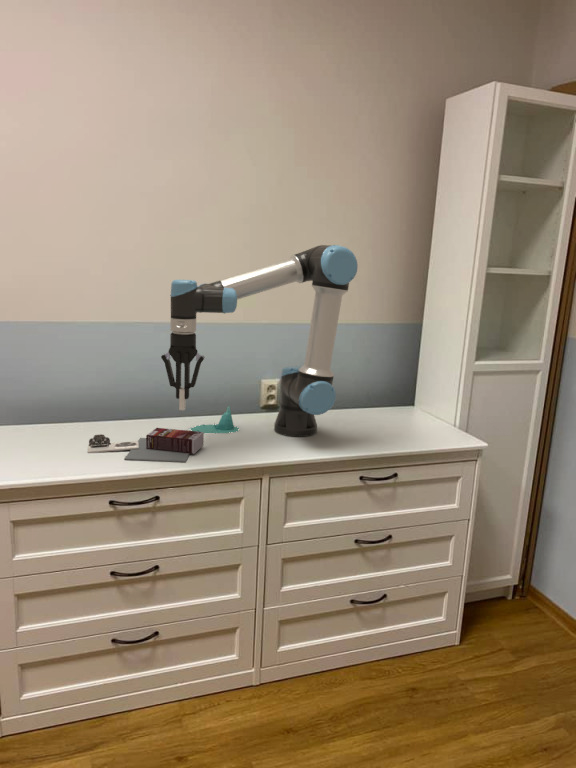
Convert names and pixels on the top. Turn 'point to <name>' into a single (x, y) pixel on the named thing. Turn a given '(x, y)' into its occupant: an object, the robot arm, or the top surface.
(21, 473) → the top surface
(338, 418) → the top surface
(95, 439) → the car cutout
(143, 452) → the mat
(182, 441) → the supplement box
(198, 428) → the diorama
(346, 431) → the top surface
